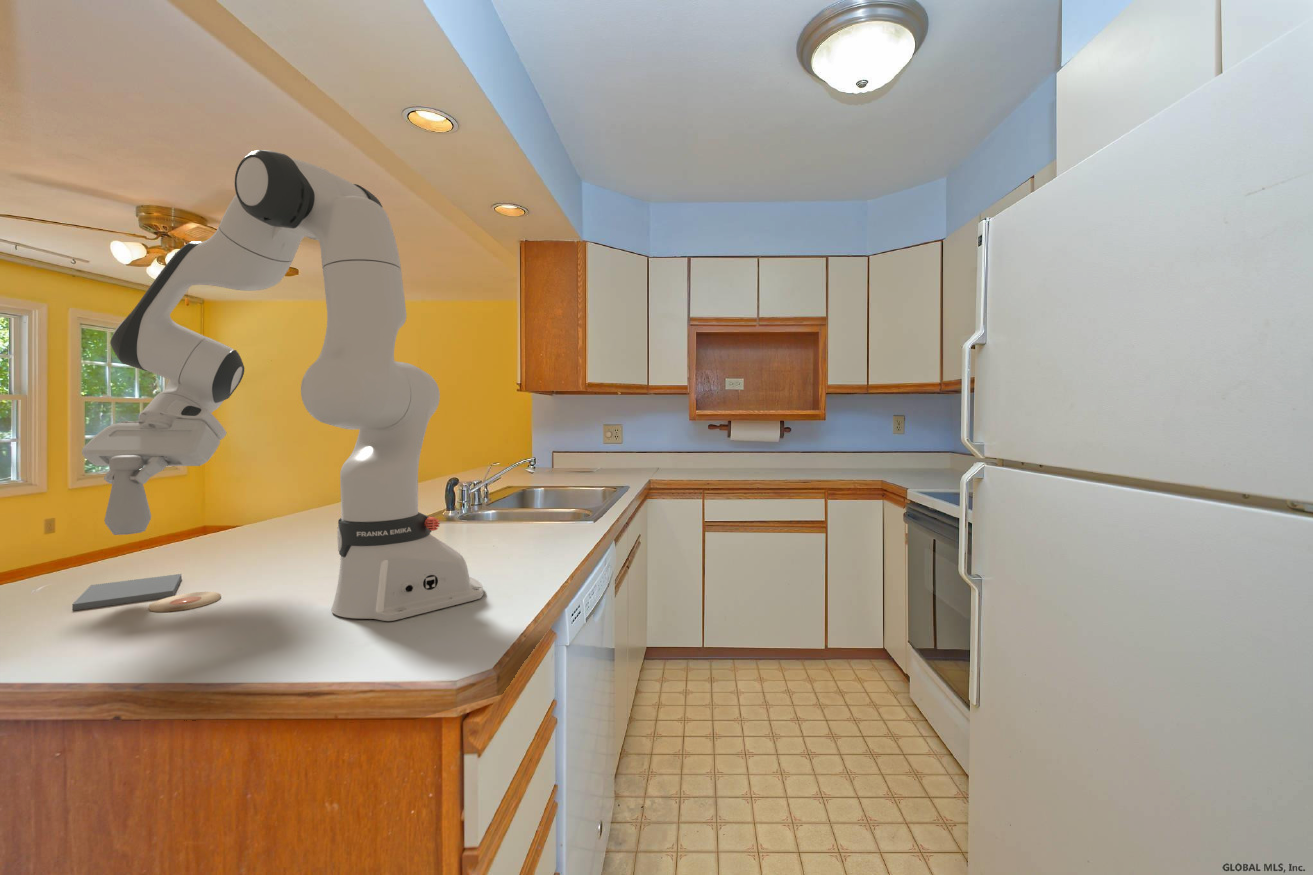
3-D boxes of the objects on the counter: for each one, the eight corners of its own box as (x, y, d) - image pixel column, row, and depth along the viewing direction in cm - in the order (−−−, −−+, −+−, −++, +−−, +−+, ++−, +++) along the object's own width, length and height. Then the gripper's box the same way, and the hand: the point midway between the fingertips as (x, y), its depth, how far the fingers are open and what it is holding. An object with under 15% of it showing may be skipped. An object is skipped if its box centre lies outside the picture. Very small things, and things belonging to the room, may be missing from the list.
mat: (181, 579, 105) (181, 573, 105) (173, 596, 96) (173, 590, 96) (91, 590, 99) (91, 585, 99) (72, 610, 89) (72, 604, 89)
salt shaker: (158, 531, 98) (156, 455, 97) (114, 537, 93) (112, 456, 92) (141, 528, 100) (139, 454, 100) (98, 533, 95) (96, 455, 95)
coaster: (222, 590, 99) (222, 588, 99) (219, 604, 91) (219, 602, 91) (153, 600, 94) (153, 598, 94) (144, 616, 86) (144, 614, 86)
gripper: (104, 409, 103) (47, 469, 94) (216, 409, 102) (170, 469, 93) (128, 433, 108) (77, 492, 98) (235, 433, 107) (194, 493, 98)
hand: (123, 481), depth 96 cm, fingers closed on salt shaker, 3 cm apart
